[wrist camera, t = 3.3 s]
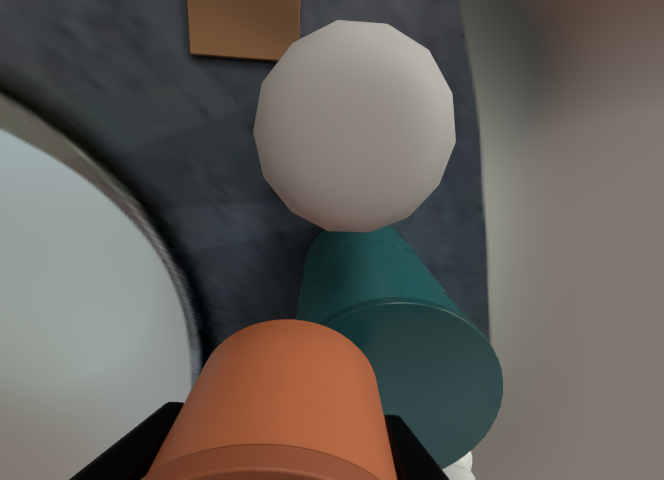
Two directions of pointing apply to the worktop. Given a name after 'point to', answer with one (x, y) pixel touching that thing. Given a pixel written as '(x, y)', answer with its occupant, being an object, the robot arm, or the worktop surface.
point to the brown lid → (280, 411)
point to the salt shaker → (354, 126)
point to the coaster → (243, 28)
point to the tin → (405, 337)
